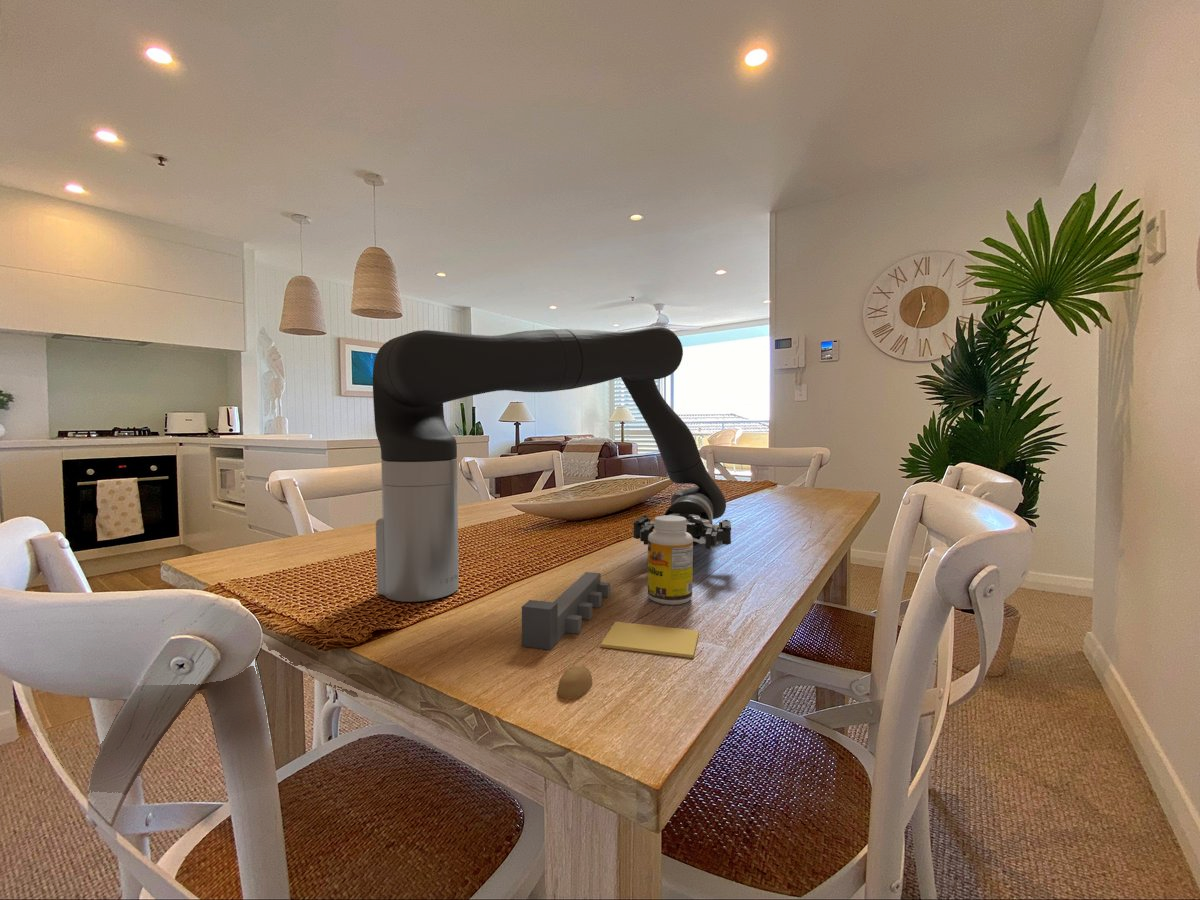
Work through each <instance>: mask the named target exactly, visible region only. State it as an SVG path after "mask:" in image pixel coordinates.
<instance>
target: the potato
mask: <svg viewBox="0 0 1200 900" xmlns="http://www.w3.org/2000/svg"><path fill="white" fill-rule="evenodd" d="M592 686H593V676H592V674H591V671H590V670H589V668H588V667H587V666H585V665H583V664H581V665H578V664H577V665H573V666H571V667H569V668H568V669H566V670H565V671H564V672H563V674H562V675H561V677H560V679H559V683H558V687H557V694H558V695H559V696H560V697H561V698H563V699H569V700H570V699H571V700H573V699H576V698H577V699H578V698H579V697H580V698H581V697H582V696H583V695H585V694H587V692H588V691H590V690H591V688H592Z"/></svg>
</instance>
